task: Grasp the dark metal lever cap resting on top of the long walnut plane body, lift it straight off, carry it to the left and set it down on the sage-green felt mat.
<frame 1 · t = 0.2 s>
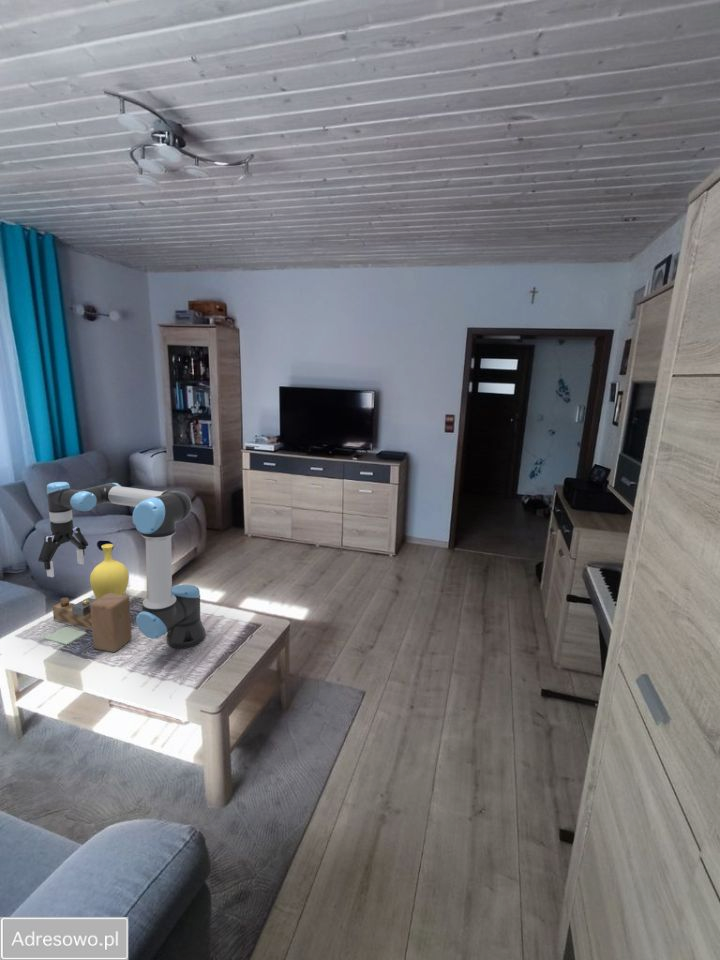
hand: (66, 569, 177), 27 cm above the table, fingers open, 13 cm apart
plane body: (82, 623, 187), on the table
wooden block: (113, 644, 174), on the table
felt mat: (65, 636, 177), on the table
lever cap: (86, 610, 185), point 7 cm above the table, touching plane body
vase: (111, 600, 208), on the table
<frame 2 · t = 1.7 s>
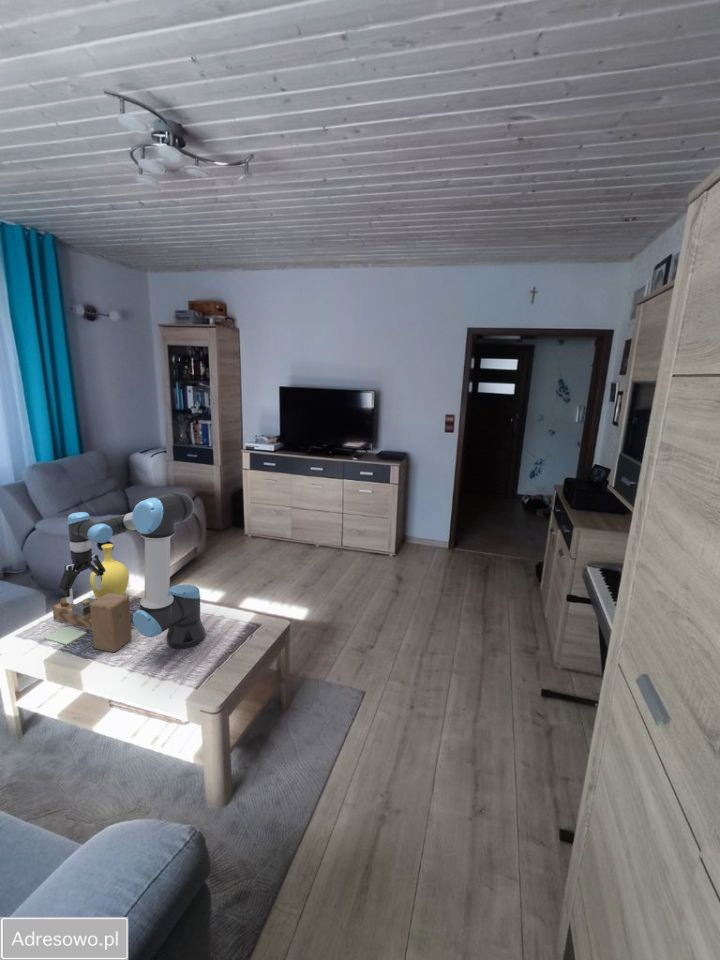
hand: (84, 595, 183), 14 cm above the table, fingers open, 13 cm apart
nothing on the table moved.
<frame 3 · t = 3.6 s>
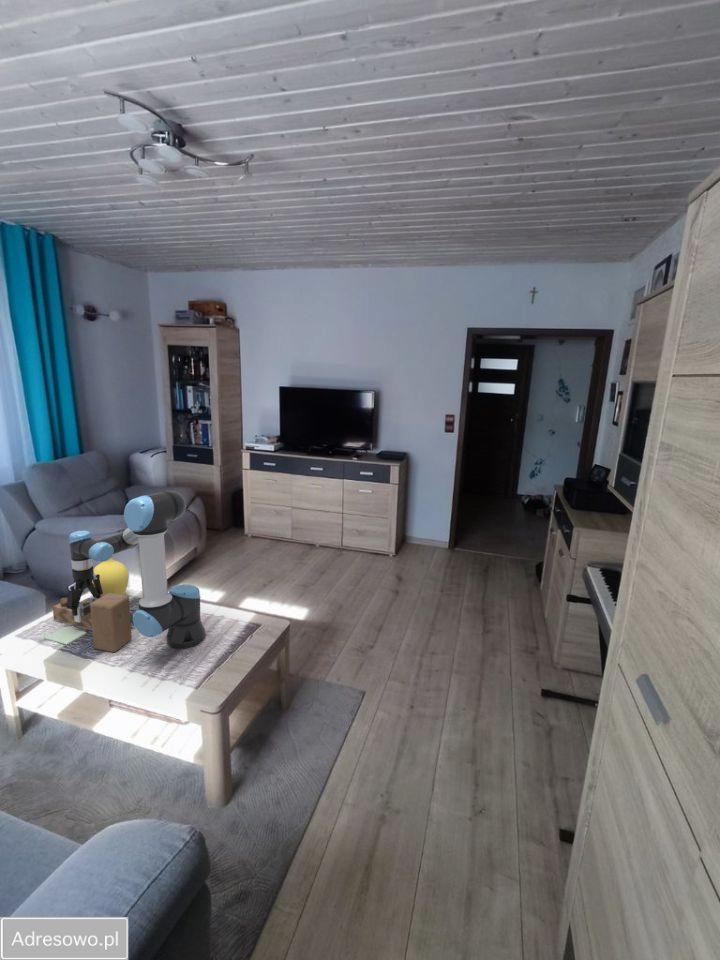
hand: (86, 616, 185), 4 cm above the table, fingers closed on lever cap, 8 cm apart
lever cap: (86, 610, 185), point 7 cm above the table, touching gripper, plane body
everything else where it was.
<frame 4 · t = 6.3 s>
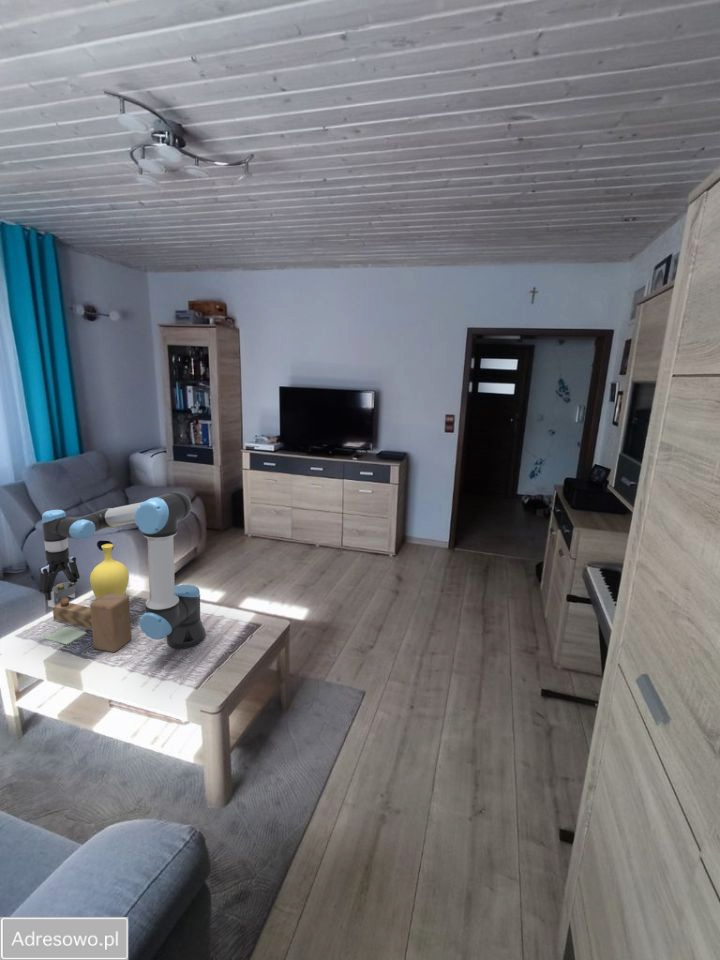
hand: (62, 601, 174), 16 cm above the table, fingers closed on lever cap, 8 cm apart
lever cap: (61, 595, 174), point 18 cm above the table, touching gripper
everything else where it was.
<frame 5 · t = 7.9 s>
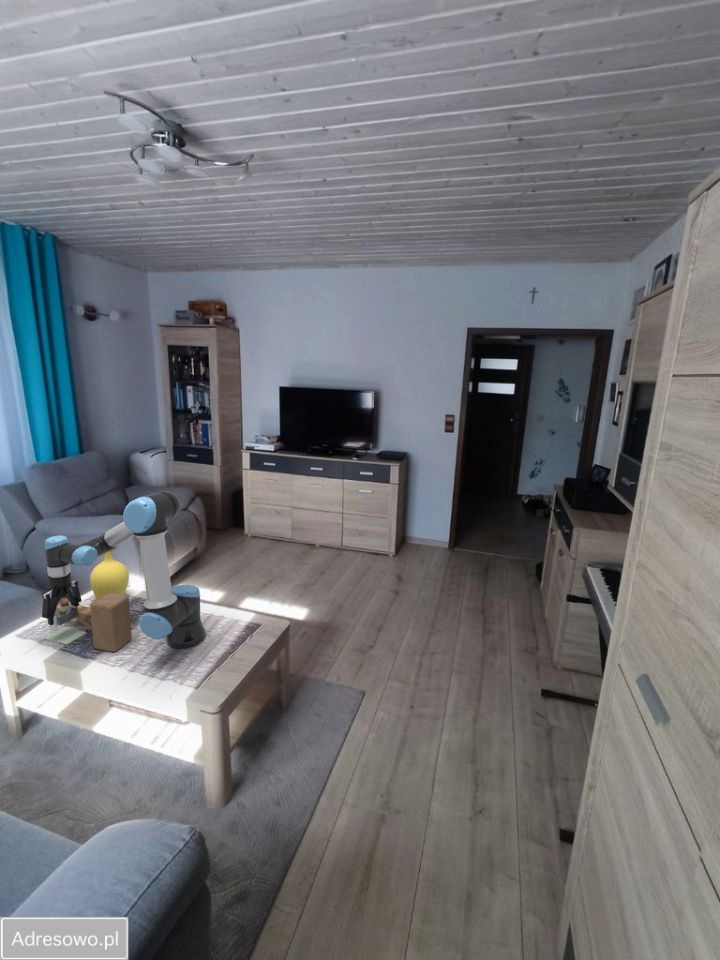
hand: (64, 625, 176), 5 cm above the table, fingers closed on lever cap, 8 cm apart
lever cap: (63, 619, 176), point 8 cm above the table, touching gripper
everything else where it was.
when the fingers open (2 cm above the table, at t = 9.4 s): lever cap drops 4 cm, resting on felt mat.
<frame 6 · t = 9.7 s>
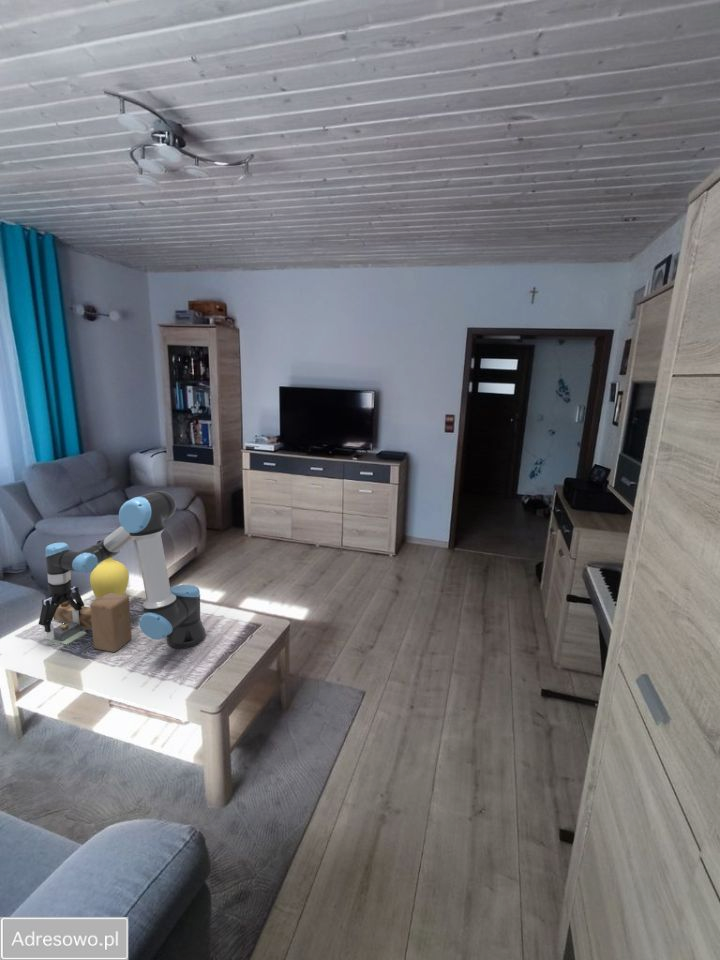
hand: (63, 631, 176), 3 cm above the table, fingers open, 10 cm apart
lever cap: (65, 635, 177), point 1 cm above the table, touching felt mat
everything else where it was.
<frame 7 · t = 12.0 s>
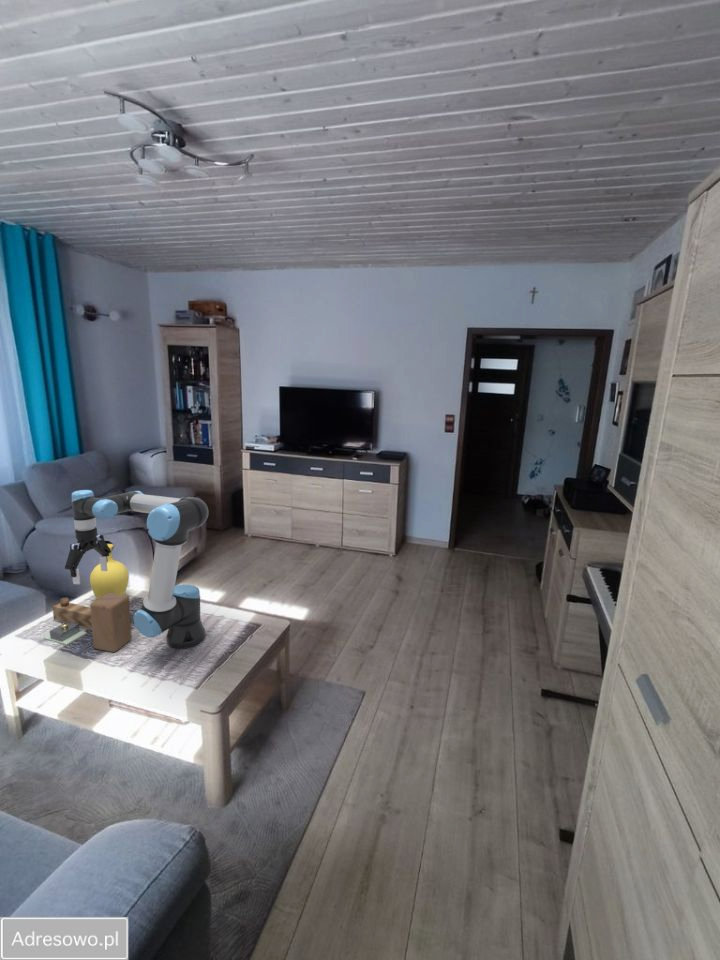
hand: (91, 577, 178), 24 cm above the table, fingers open, 13 cm apart
nothing on the table moved.
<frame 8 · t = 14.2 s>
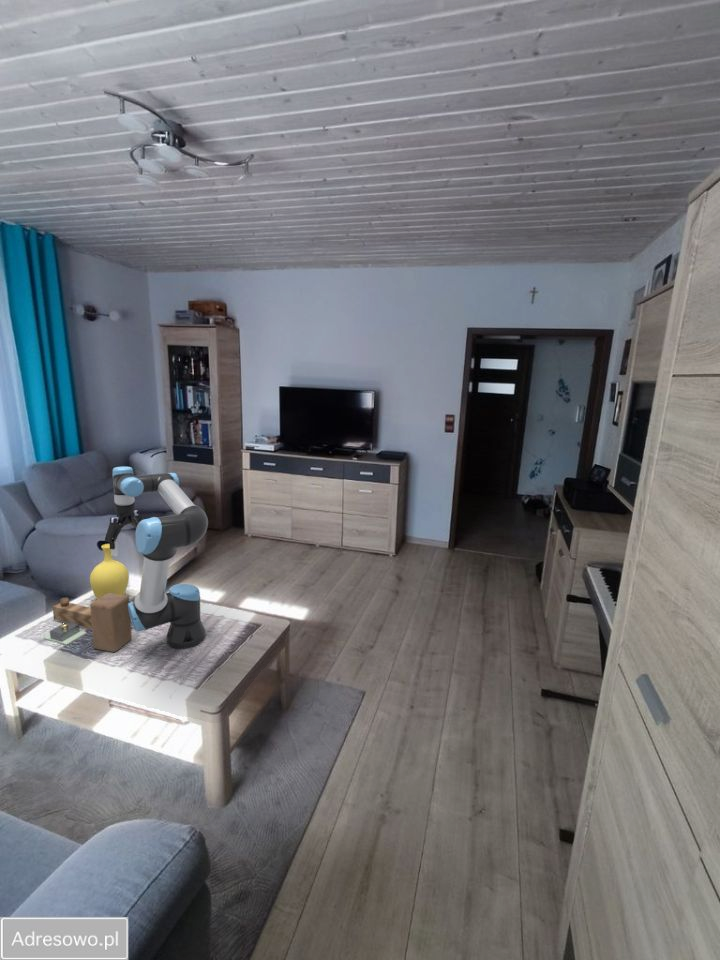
hand: (127, 550, 186), 33 cm above the table, fingers open, 13 cm apart
nothing on the table moved.
at the end: lever cap inside the target area (0.0 cm from its centre), point 0.6 cm above the table; lever cap touching felt mat; lever cap tilted 0° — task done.
